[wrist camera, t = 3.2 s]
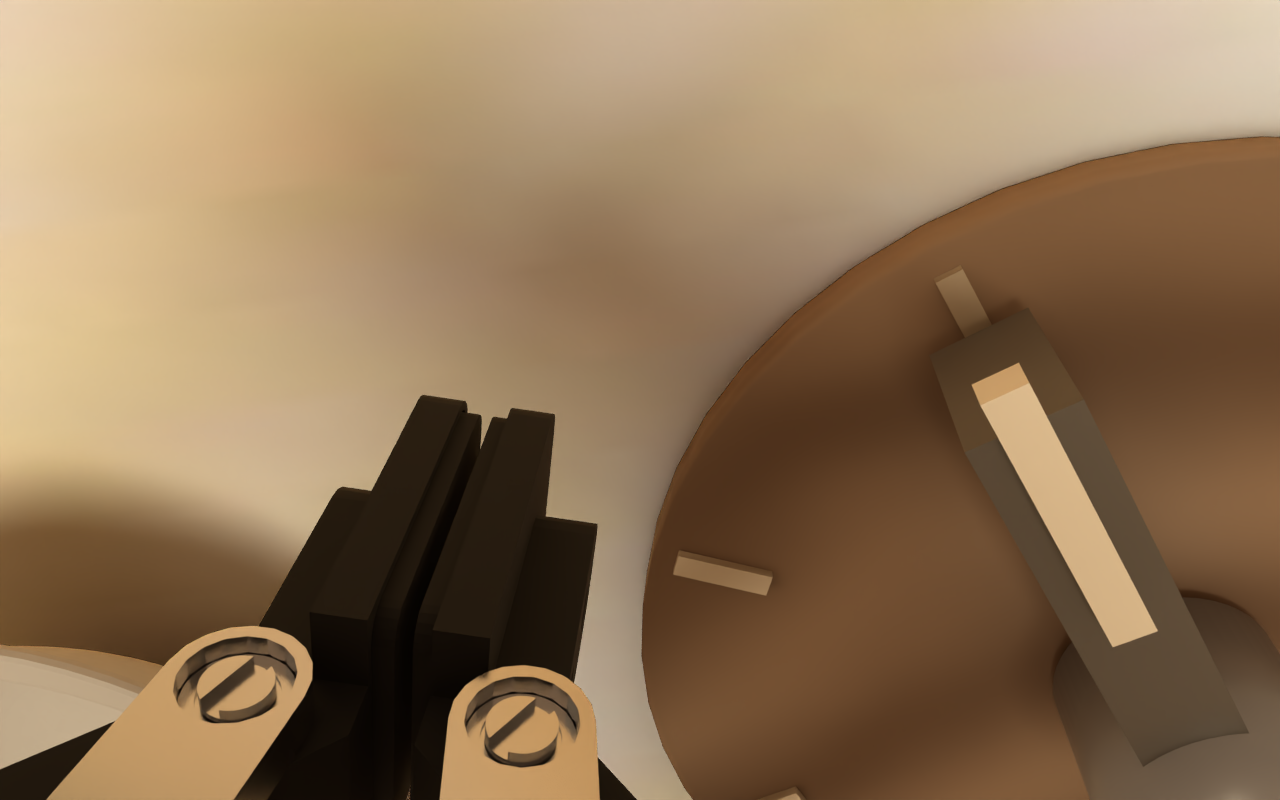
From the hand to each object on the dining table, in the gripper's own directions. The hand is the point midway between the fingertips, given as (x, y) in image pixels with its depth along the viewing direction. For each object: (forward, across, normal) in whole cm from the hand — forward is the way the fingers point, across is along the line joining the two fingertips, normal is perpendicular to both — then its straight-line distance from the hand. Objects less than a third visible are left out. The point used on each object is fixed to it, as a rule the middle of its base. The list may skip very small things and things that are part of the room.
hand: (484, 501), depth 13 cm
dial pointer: (+6, -13, +6) cm, 16 cm away
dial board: (+7, -14, +7) cm, 17 cm away
